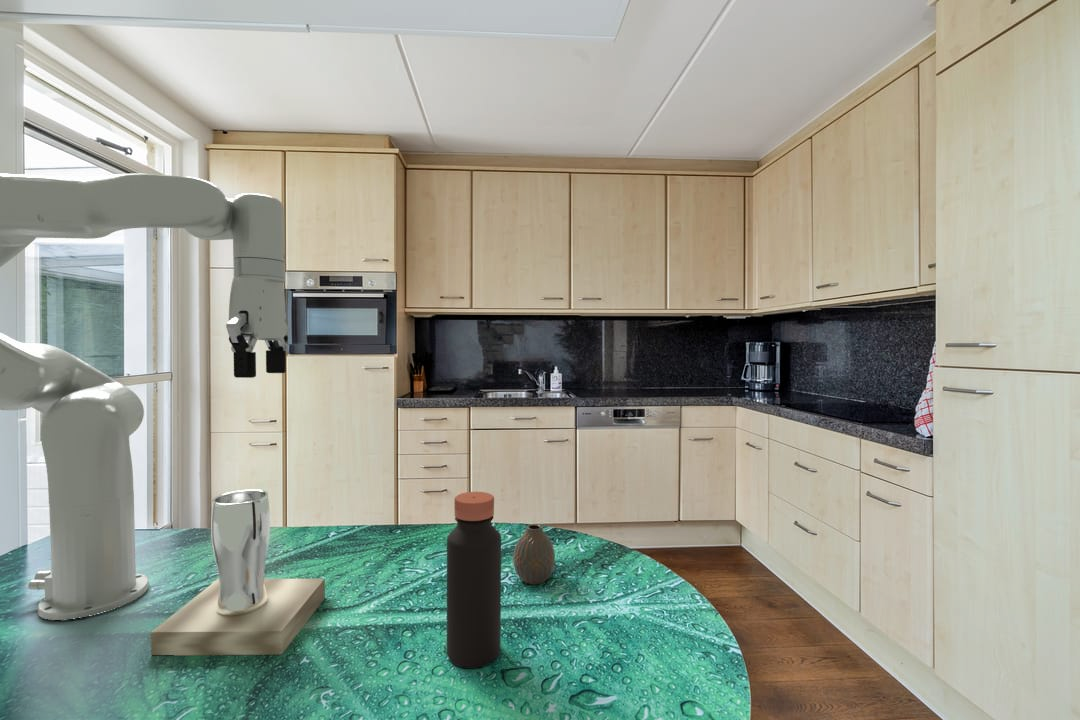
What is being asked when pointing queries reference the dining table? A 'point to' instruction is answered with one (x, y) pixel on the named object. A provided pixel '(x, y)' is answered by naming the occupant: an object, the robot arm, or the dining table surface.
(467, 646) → the bottle
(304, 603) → the plate
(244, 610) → the beer glass
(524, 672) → the dining table surface
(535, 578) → the vase
